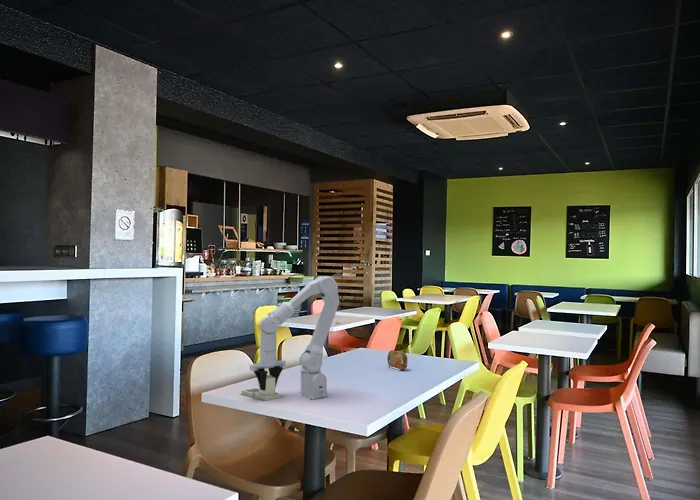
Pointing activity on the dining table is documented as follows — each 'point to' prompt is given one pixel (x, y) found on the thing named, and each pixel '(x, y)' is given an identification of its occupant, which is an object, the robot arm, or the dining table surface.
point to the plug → (268, 386)
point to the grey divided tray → (255, 394)
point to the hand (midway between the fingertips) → (267, 388)
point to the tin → (397, 359)
